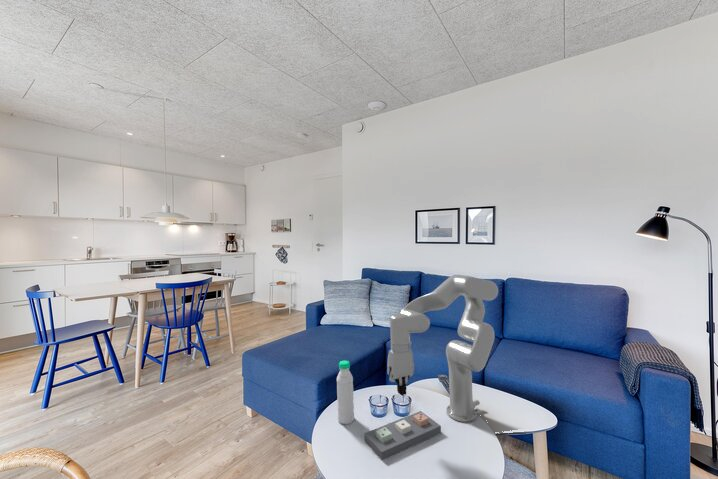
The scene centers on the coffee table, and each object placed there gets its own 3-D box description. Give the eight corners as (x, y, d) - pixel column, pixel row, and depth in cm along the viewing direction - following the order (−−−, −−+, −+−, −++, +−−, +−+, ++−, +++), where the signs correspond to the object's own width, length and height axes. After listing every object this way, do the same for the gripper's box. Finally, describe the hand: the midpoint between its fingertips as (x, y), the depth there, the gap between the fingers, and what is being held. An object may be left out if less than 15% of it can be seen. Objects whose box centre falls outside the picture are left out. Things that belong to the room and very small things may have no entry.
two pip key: (385, 436, 116) (385, 426, 116) (392, 442, 112) (391, 433, 112) (376, 440, 114) (375, 430, 114) (382, 447, 110) (382, 437, 110)
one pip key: (404, 428, 120) (404, 419, 120) (411, 434, 116) (411, 425, 116) (395, 432, 118) (395, 423, 118) (402, 438, 114) (401, 429, 114)
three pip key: (421, 421, 125) (421, 412, 125) (428, 426, 121) (428, 417, 121) (413, 424, 122) (413, 415, 122) (420, 430, 119) (420, 421, 119)
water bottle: (339, 426, 125) (337, 366, 125) (336, 416, 132) (334, 359, 132) (355, 423, 127) (354, 364, 127) (352, 413, 134) (350, 358, 134)
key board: (420, 417, 129) (420, 411, 129) (441, 433, 119) (440, 425, 119) (364, 441, 116) (364, 433, 116) (381, 460, 105) (381, 452, 105)
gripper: (409, 340, 124) (411, 384, 124) (379, 347, 117) (380, 394, 117) (421, 345, 118) (423, 392, 118) (390, 353, 110) (391, 403, 110)
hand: (401, 393), depth 117 cm, fingers closed
